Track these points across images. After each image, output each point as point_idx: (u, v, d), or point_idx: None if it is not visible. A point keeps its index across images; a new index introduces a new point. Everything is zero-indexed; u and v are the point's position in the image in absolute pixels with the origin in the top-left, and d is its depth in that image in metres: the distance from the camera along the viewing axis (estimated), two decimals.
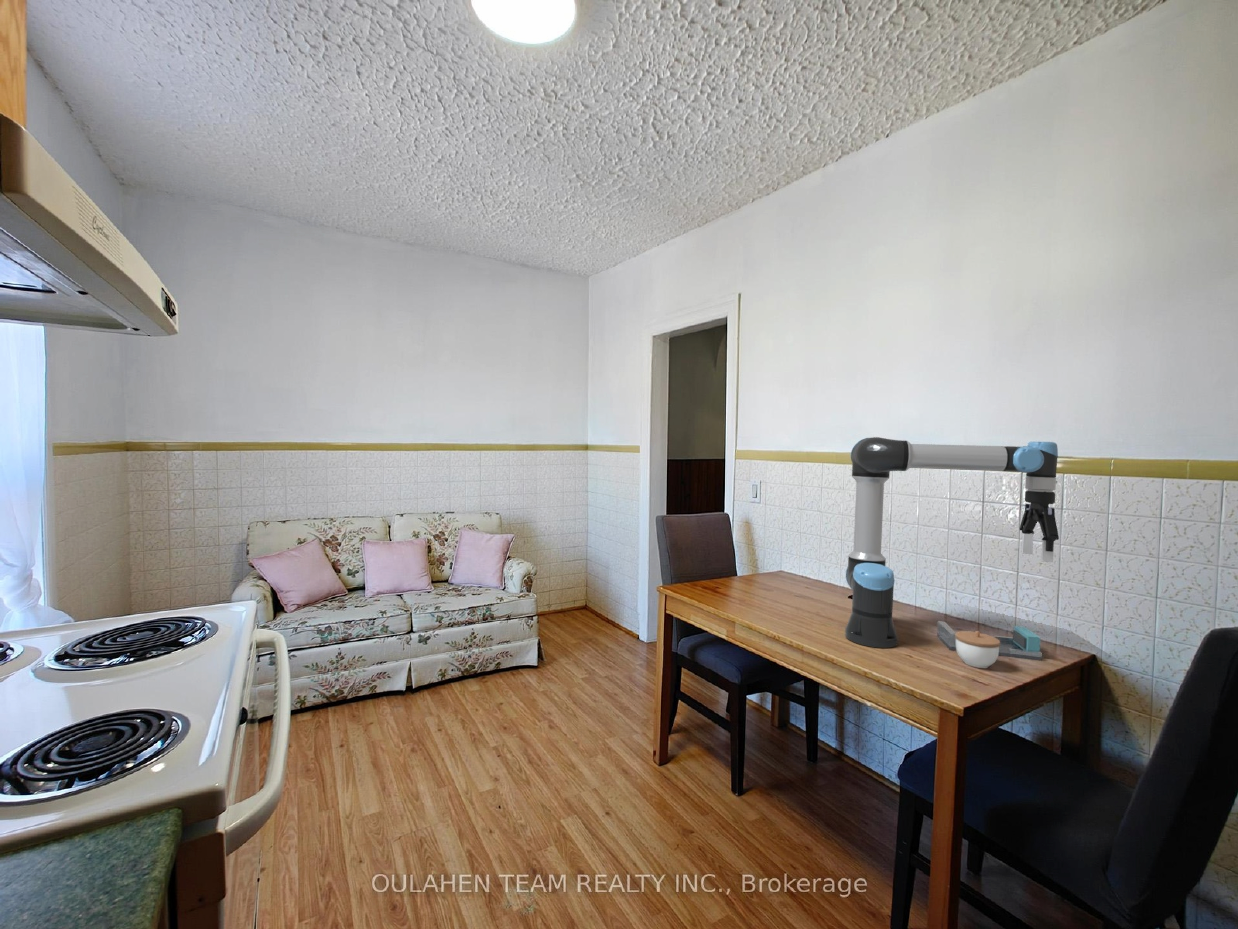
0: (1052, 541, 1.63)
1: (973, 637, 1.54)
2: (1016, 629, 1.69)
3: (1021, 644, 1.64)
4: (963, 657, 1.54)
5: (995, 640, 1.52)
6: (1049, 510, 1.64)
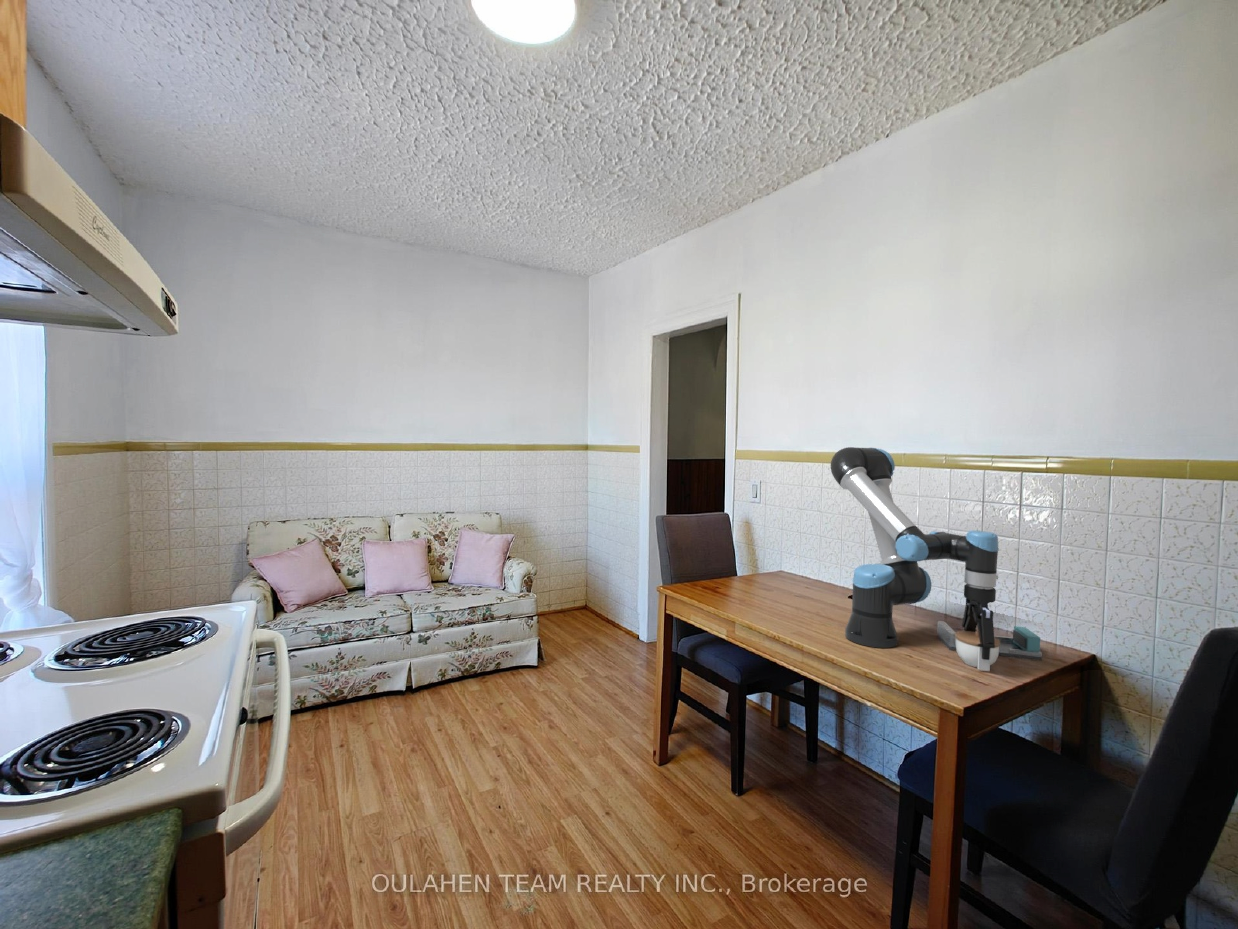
0: (988, 649, 1.48)
1: (973, 637, 1.54)
2: (1016, 629, 1.69)
3: (1021, 644, 1.64)
4: (963, 657, 1.54)
5: (995, 640, 1.52)
6: (988, 614, 1.48)
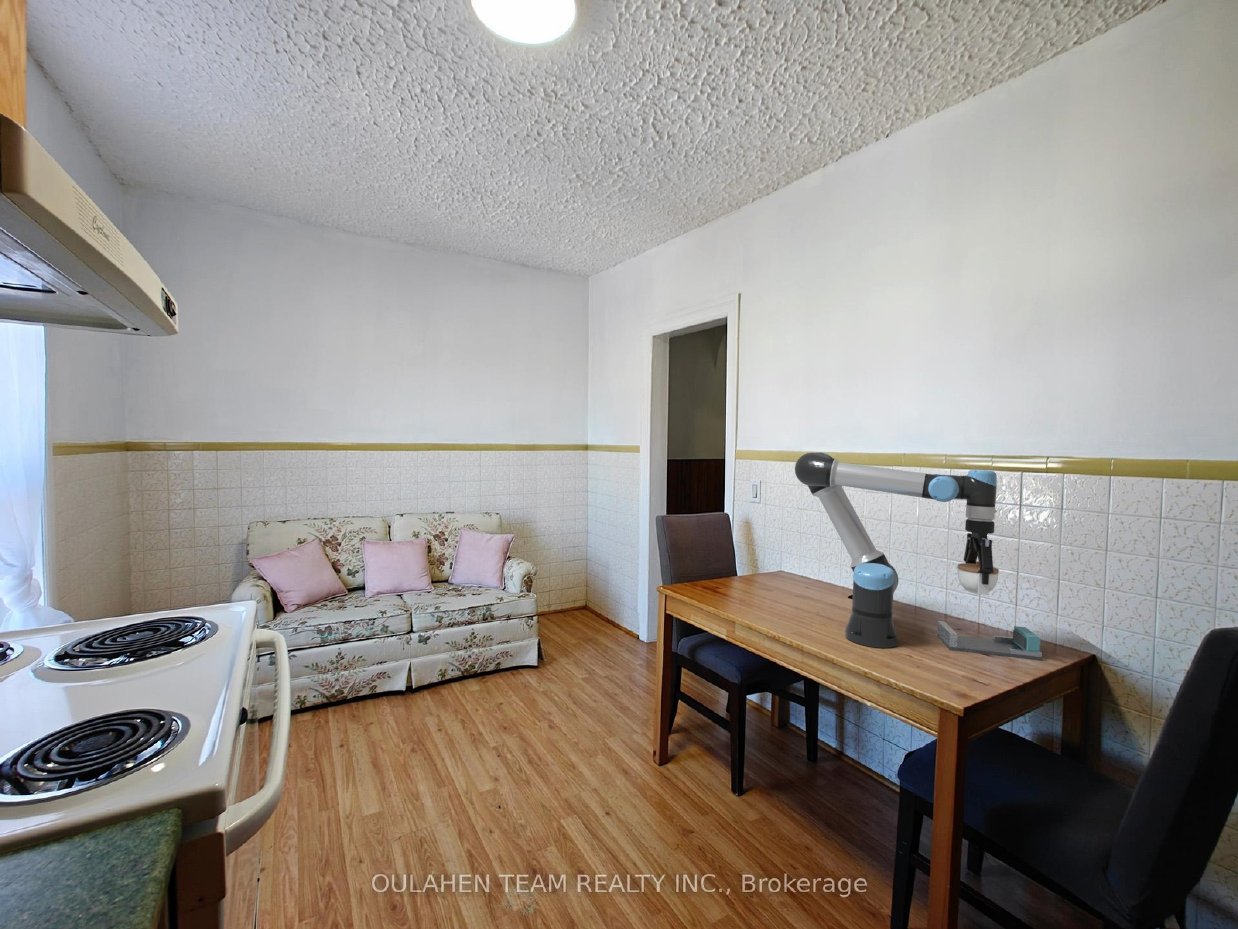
0: (987, 574, 1.62)
1: (973, 566, 1.68)
2: (1016, 629, 1.69)
3: (1021, 644, 1.64)
4: (965, 585, 1.68)
5: (994, 568, 1.66)
6: (987, 542, 1.62)
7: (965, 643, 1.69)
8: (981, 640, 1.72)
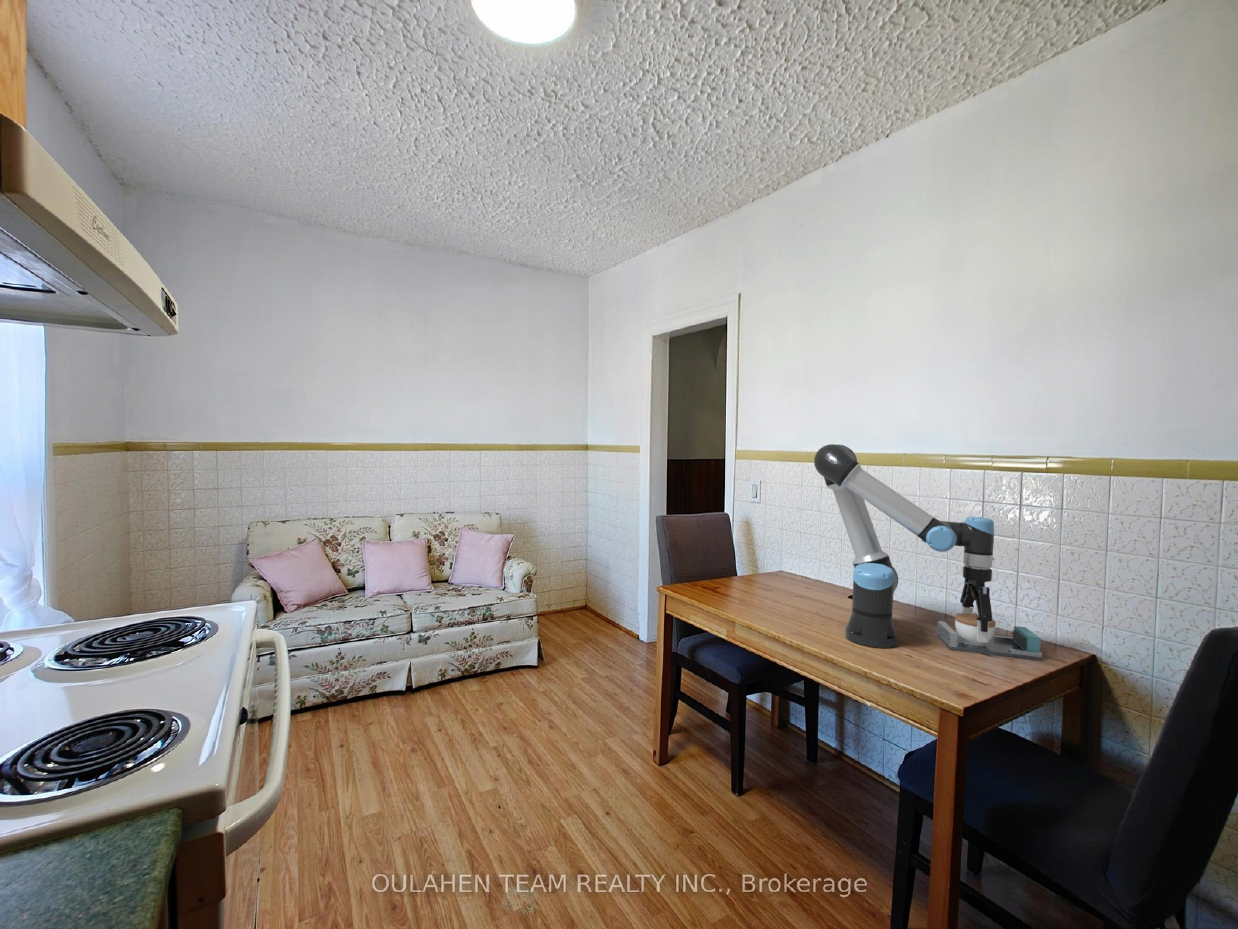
0: (986, 622, 1.61)
1: (971, 618, 1.69)
2: (1016, 629, 1.69)
3: (1021, 644, 1.64)
4: (962, 636, 1.68)
5: (991, 621, 1.67)
6: (984, 590, 1.62)
7: (965, 643, 1.69)
8: None
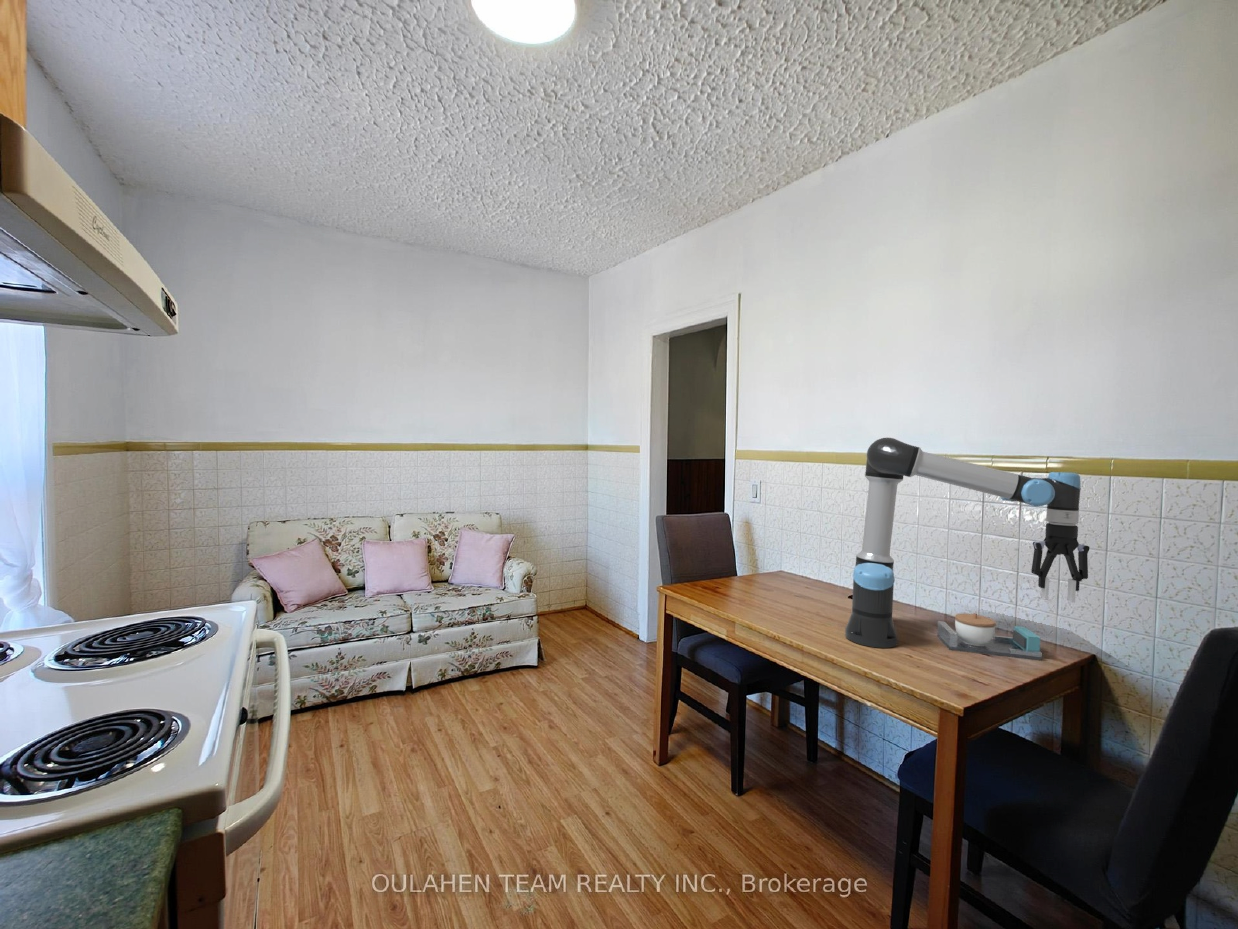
0: (1039, 577, 1.64)
1: (971, 618, 1.69)
2: (1016, 629, 1.69)
3: (1021, 644, 1.64)
4: (962, 636, 1.68)
5: (991, 621, 1.67)
6: (1034, 545, 1.65)
7: (965, 643, 1.69)
8: None
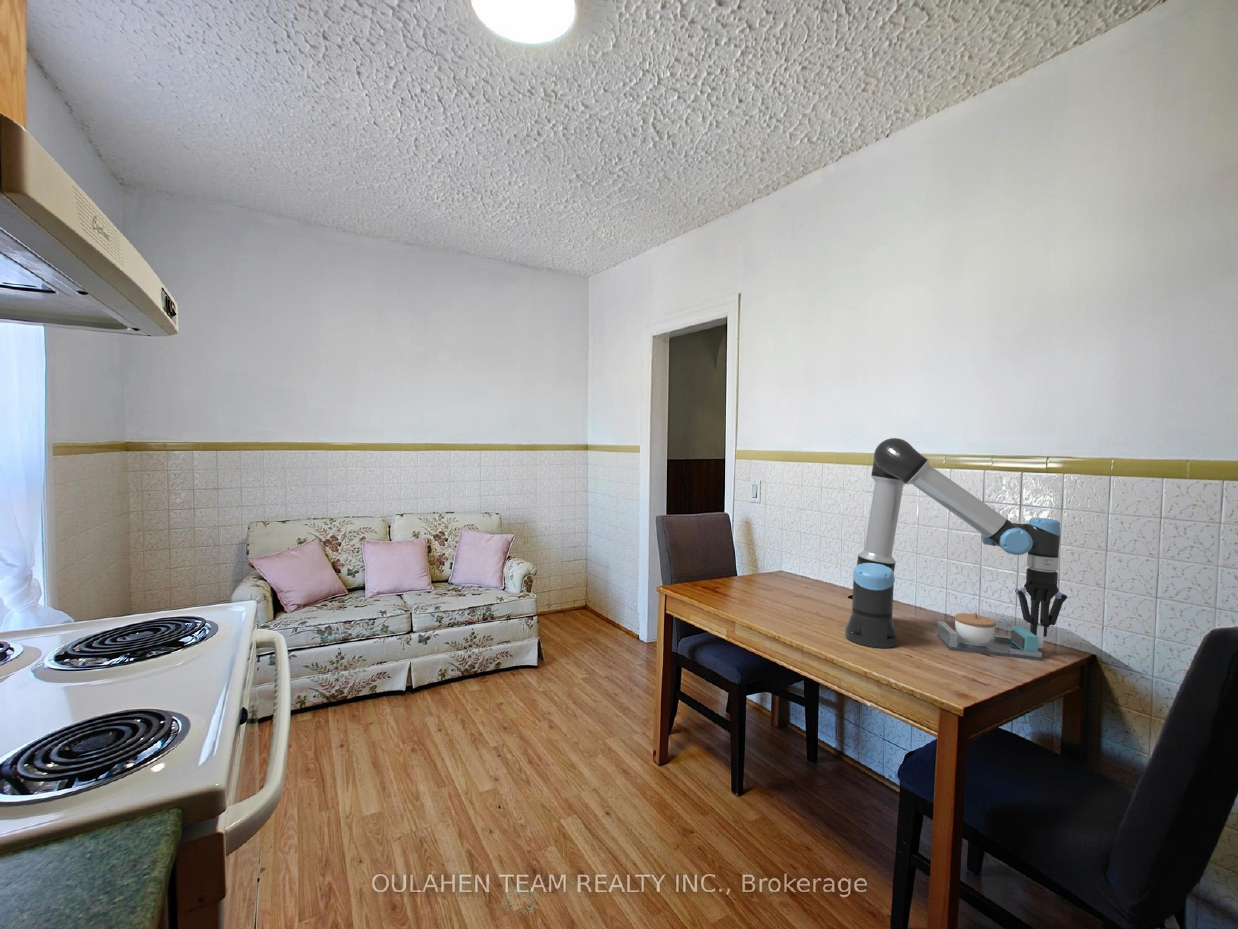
0: (1031, 624, 1.65)
1: (971, 618, 1.69)
2: (1014, 629, 1.69)
3: (1019, 644, 1.64)
4: (962, 636, 1.68)
5: (991, 621, 1.67)
6: (1017, 593, 1.66)
7: (965, 643, 1.69)
8: None
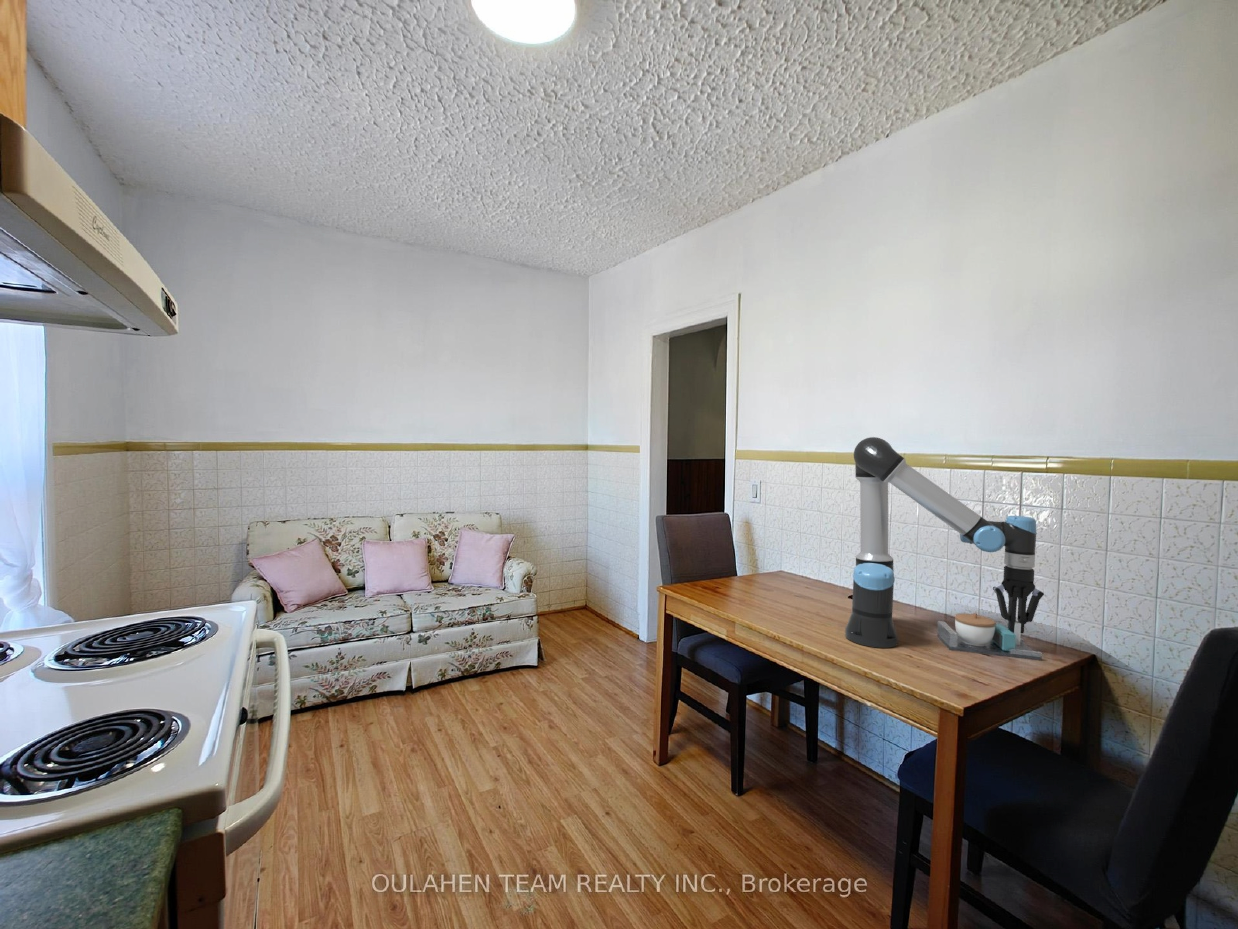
0: (1009, 621, 1.66)
1: (971, 618, 1.69)
2: None
3: (997, 641, 1.66)
4: (962, 636, 1.68)
5: (991, 621, 1.67)
6: (995, 591, 1.68)
7: (965, 643, 1.69)
8: None
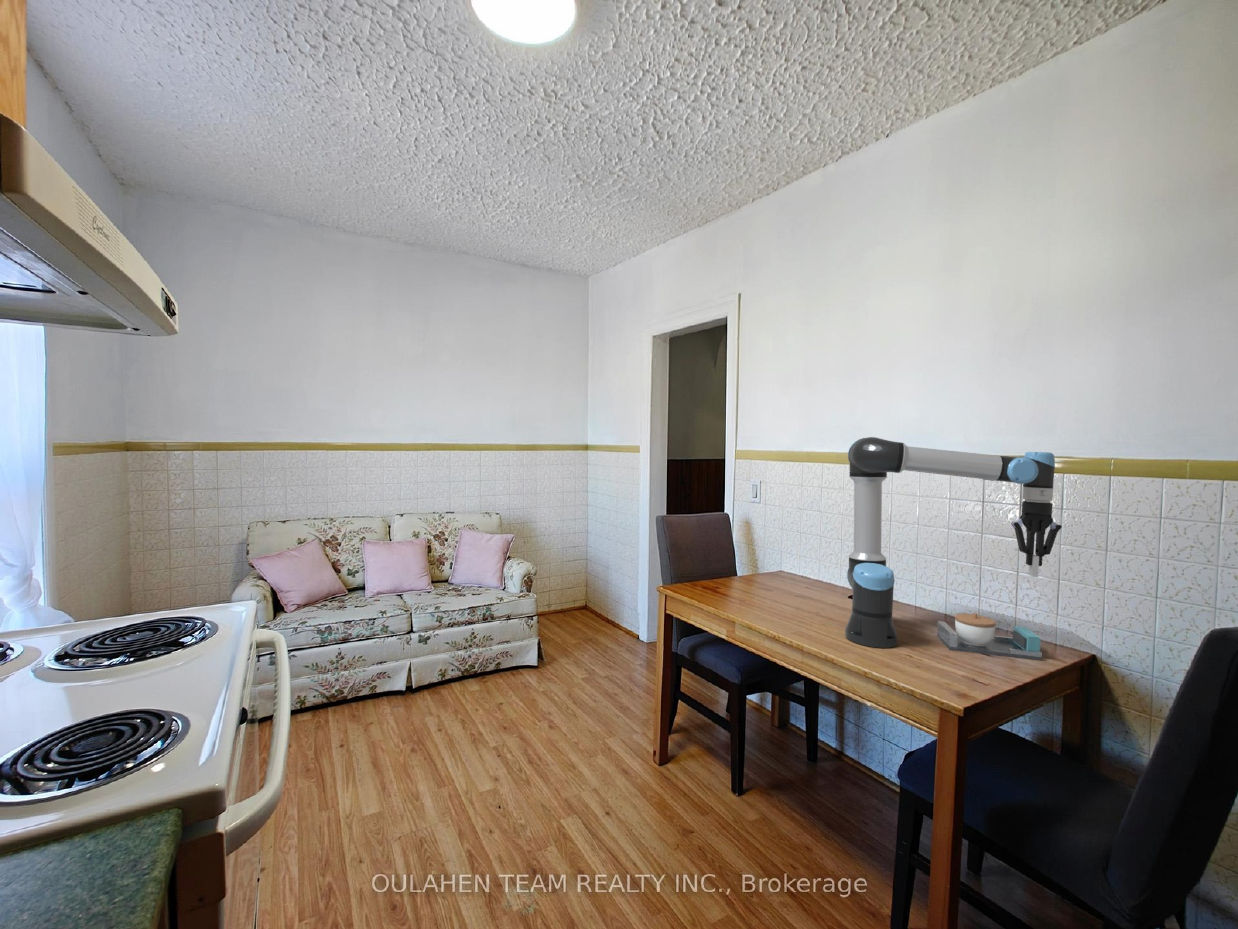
0: (1027, 555, 1.70)
1: (971, 618, 1.69)
2: (1016, 629, 1.69)
3: (1021, 644, 1.64)
4: (962, 636, 1.68)
5: (991, 621, 1.67)
6: (1013, 525, 1.72)
7: (965, 643, 1.69)
8: None
